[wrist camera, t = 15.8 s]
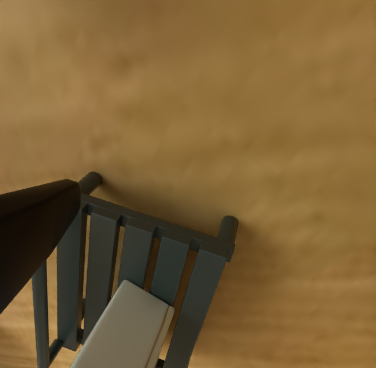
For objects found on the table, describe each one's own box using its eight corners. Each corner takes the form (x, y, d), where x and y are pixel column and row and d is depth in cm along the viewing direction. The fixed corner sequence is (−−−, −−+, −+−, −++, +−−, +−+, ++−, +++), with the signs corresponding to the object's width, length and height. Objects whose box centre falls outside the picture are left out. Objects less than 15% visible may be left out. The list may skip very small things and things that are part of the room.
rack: (240, 218, 23) (226, 293, 17) (192, 346, 31) (171, 427, 25) (87, 169, 24) (23, 222, 18) (80, 304, 32) (34, 372, 26)
